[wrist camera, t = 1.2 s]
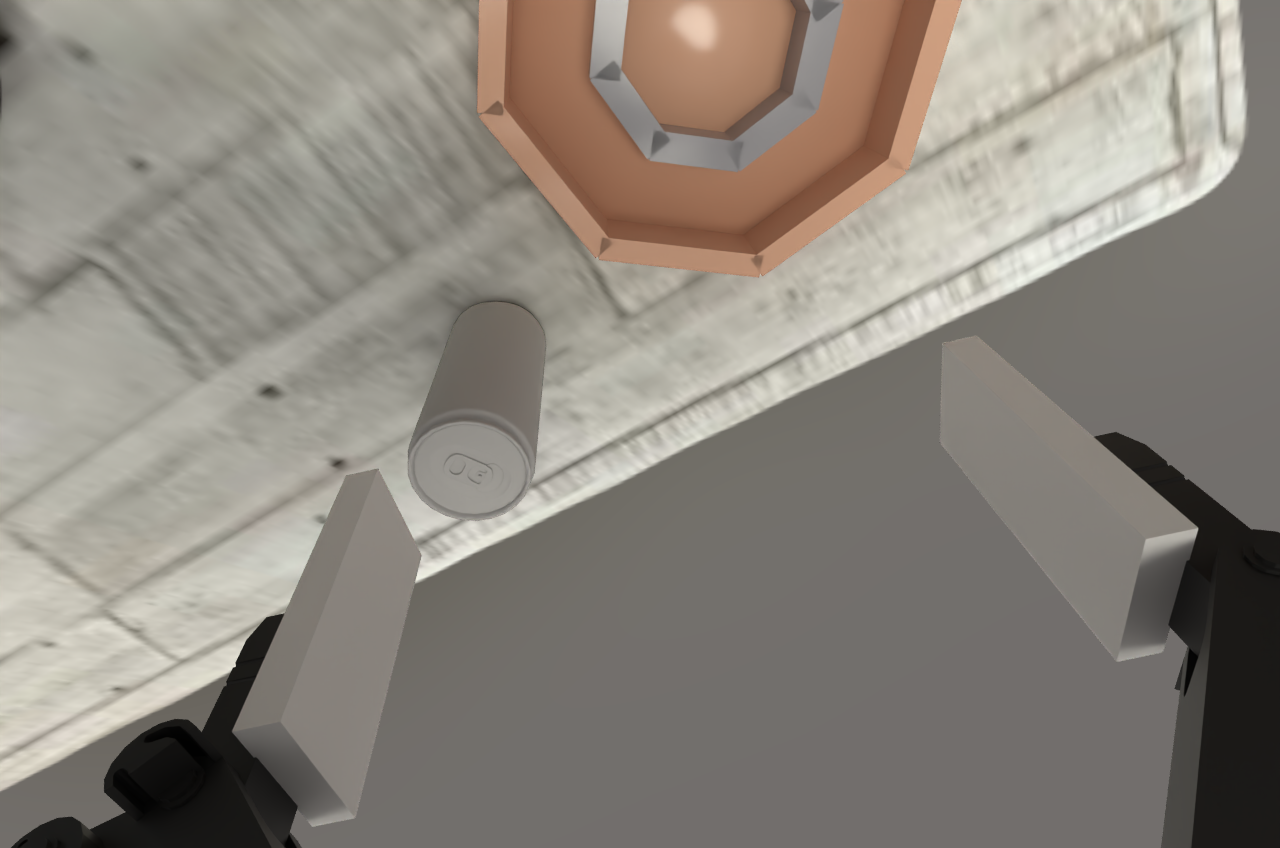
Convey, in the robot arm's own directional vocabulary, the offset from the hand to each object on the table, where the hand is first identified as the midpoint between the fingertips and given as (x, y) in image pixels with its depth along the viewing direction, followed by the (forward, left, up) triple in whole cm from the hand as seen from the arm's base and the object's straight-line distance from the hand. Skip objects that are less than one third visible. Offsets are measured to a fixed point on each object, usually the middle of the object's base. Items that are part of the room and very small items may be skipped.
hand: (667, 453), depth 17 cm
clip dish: (+2, +8, -21) cm, 22 cm away
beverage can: (-5, -7, -21) cm, 23 cm away
